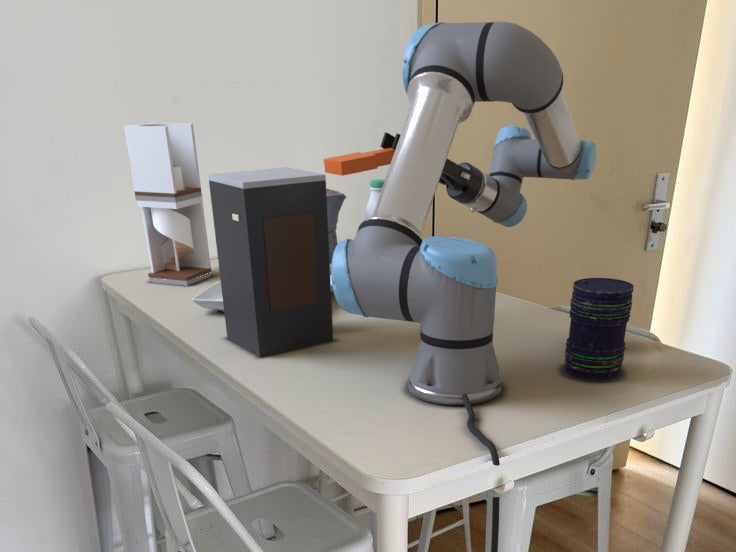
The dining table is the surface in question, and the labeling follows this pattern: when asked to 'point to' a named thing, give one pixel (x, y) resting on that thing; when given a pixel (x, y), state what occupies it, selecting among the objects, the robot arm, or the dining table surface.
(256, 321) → the tall dark grey cabinet
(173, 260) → the white tall stand
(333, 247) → the moka pot
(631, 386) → the dining table surface
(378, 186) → the milk bottle
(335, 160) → the key
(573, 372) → the dark blue cylinder
